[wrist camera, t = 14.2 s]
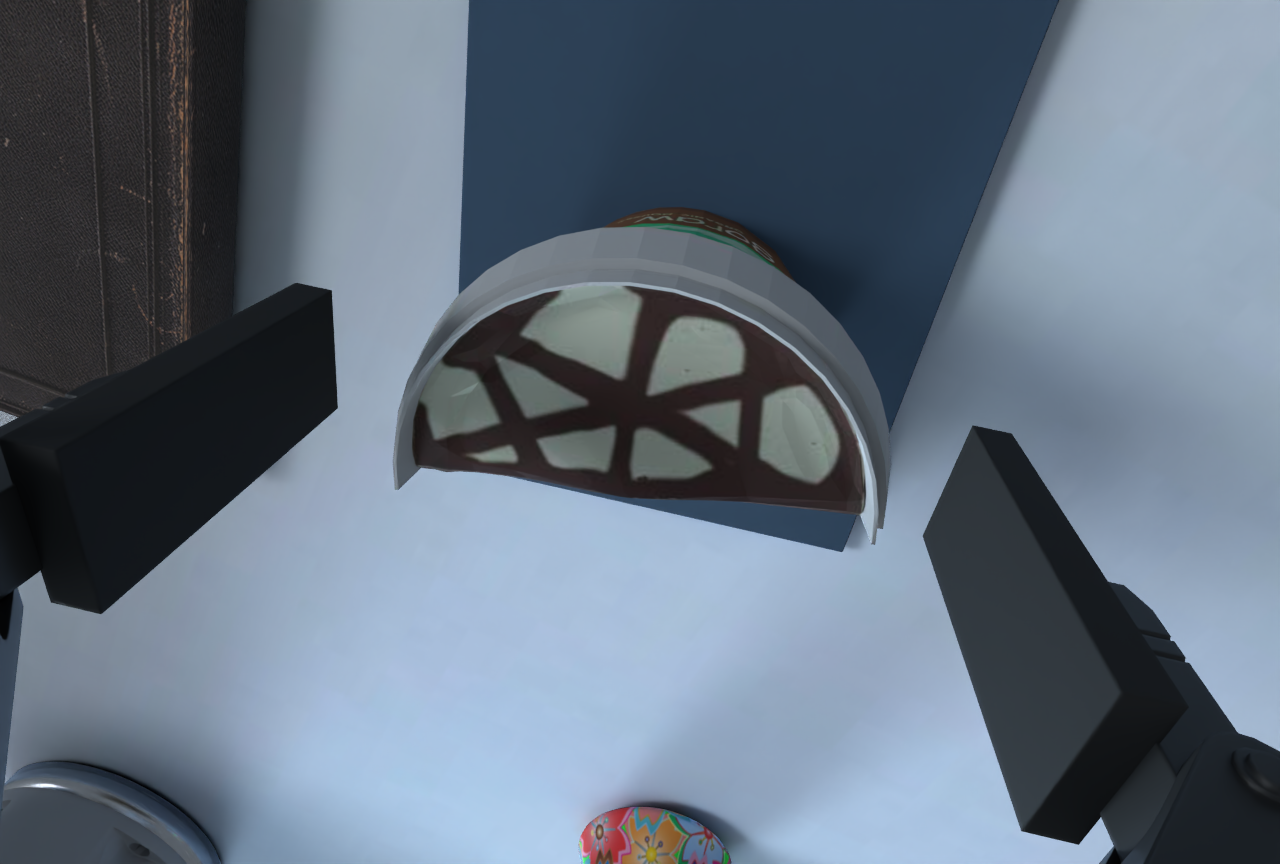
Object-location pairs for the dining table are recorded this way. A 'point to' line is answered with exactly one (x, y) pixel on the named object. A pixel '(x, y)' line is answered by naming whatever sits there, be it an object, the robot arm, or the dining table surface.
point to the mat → (753, 151)
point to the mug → (649, 839)
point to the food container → (651, 374)
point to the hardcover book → (113, 184)
